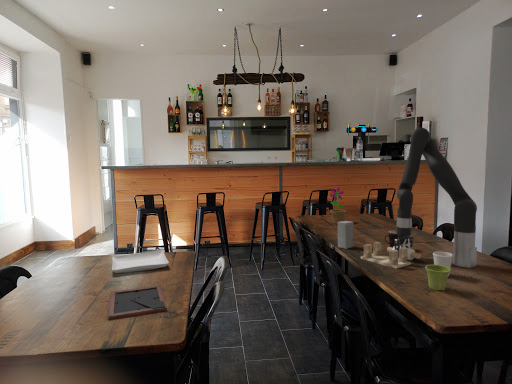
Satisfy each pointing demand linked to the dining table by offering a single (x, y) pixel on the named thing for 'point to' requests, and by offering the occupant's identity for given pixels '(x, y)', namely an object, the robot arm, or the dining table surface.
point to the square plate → (139, 262)
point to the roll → (410, 253)
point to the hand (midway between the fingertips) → (403, 256)
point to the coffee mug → (391, 237)
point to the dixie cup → (443, 259)
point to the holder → (386, 260)
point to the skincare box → (345, 234)
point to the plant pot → (437, 276)
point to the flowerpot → (338, 214)
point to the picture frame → (136, 302)
